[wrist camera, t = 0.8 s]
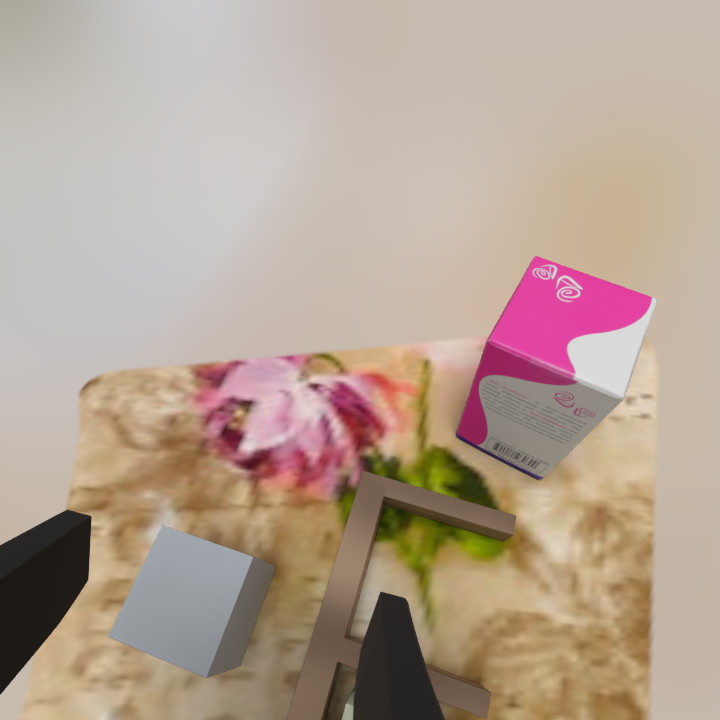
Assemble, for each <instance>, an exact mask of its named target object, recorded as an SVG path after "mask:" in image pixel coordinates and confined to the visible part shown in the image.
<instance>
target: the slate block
mask: <svg viewBox="0 0 720 720" xmlns="http://www.w3.org/2000/svg"><path fill="white" fill-rule="evenodd" d="M275 569H276V566H275V565H273V564H270V563H268V562H265V561H263V560H260V559H258V558H255V557H252V556H249V555H247V554H244V553H241V552H238V551H235V550H232V549H230V548H227V547H224V546H221V545H218V544H215V543H212V542H210V541H207V540H204V539H201V538H198V537H195V536H192V535H190V534H187V533H184V532H181V531H178V530H175V529H172V528H170V527H167V526H164V525H162V527H161V529H160V531H159V533H158V535H157V537H156V539H155V542H154V544H153V546H152V548H151V550H150V552H149V554H148V556H147V558H146V560H145V562H144V564H143V566H142V568H141V570H140V572H139V574H138V576H137V578H136V580H135V582H134V584H133V587H132V589H131V591H130V593H129V595H128V597H127V599H126V601H125V603H124V605H123V607H122V609H121V611H120V613H119V615H118V617H117V619H116V621H115V623H114V625H113V627H112V629H111V632H110V634H109V636H108V637H110V638H112V639H114V640H117V641H119V642H122V643H124V644H126V645H129V646H131V647H133V648H136V649H138V650H141V651H143V652H145V653H148V654H150V655H153V656H155V657H157V658H160V659H162V660H164V661H167V662H169V663H172V664H174V665H176V666H179V667H181V668H184V669H186V670H188V671H191V672H193V673H196V674H198V675H200V676H203V677H205V678H208V677H210V676H213V675H216V674H219V673H222V672H224V671H227V670H230V669H233V668H236V667H239V666H240V665H241V662H242V659H243V657H244V654H245V651H246V648H247V646H248V643H249V640H250V637H251V635H252V632H253V629H254V626H255V624H256V621H257V618H258V615H259V613H260V610H261V607H262V604H263V602H264V599H265V596H266V593H267V591H268V588H269V585H270V582H271V580H272V577H273V574H274V571H275Z"/></svg>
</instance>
